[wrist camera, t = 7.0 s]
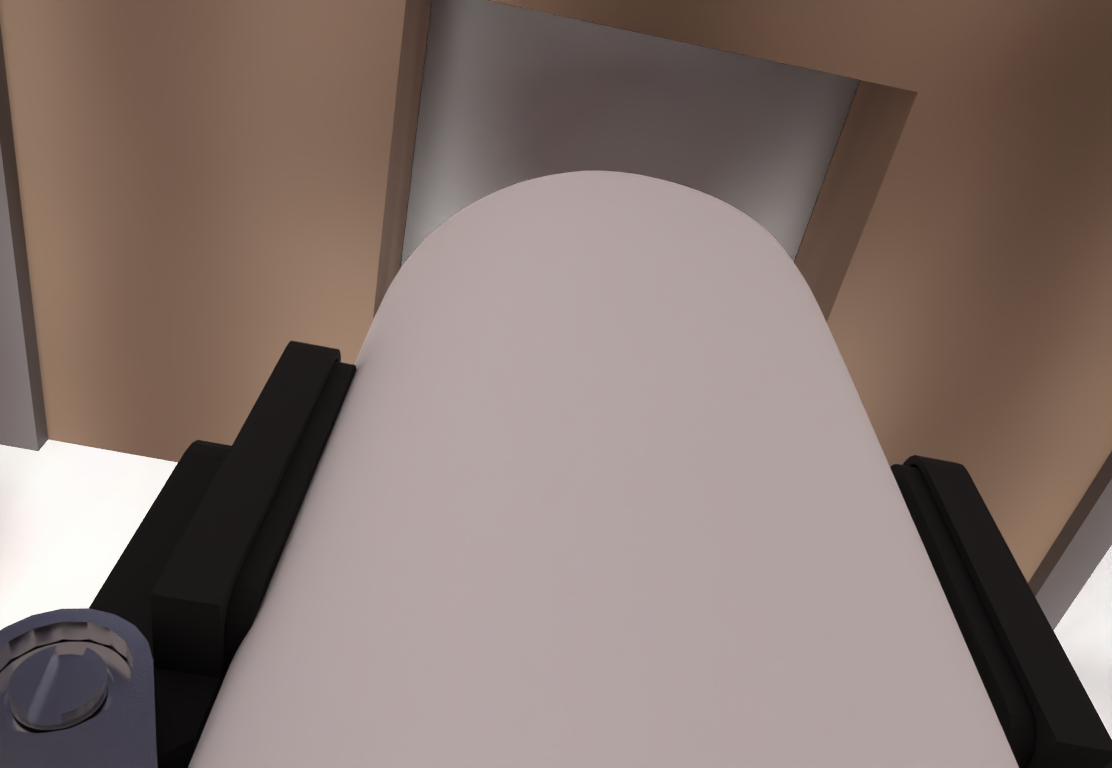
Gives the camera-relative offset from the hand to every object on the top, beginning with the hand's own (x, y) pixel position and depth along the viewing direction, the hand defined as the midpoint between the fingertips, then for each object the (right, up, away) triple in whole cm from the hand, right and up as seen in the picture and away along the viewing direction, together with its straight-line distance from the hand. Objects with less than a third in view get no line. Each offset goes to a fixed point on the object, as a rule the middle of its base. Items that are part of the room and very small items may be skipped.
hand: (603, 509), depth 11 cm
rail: (+1, +5, +8) cm, 9 cm away
